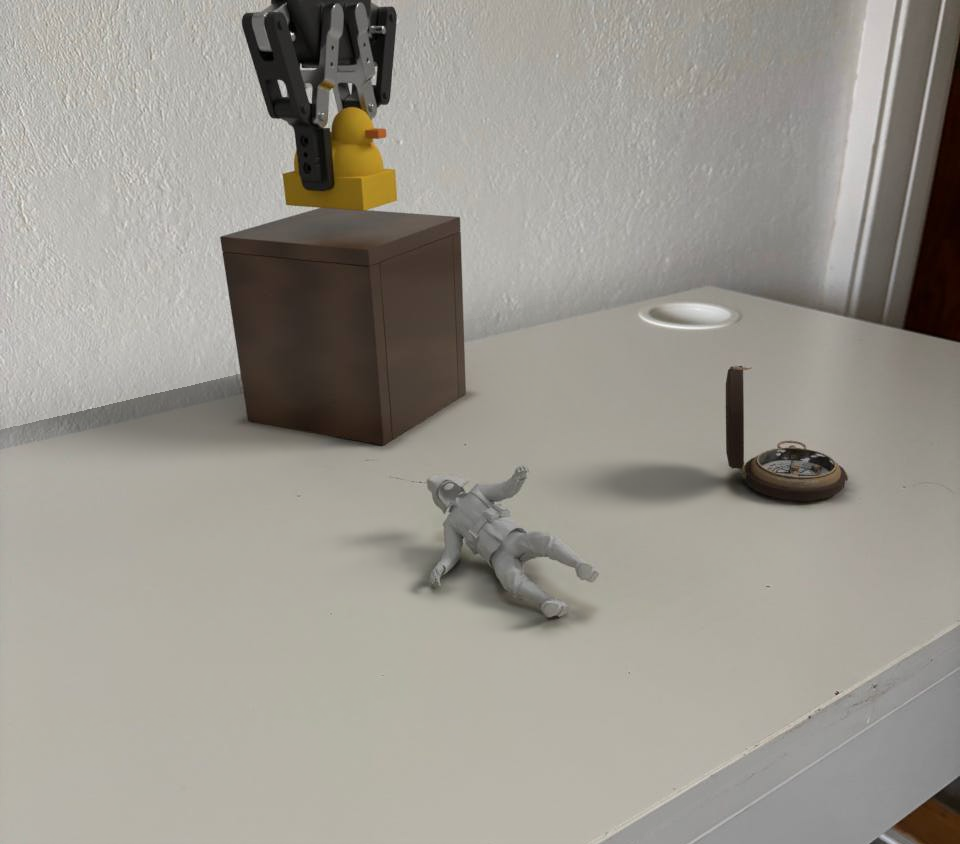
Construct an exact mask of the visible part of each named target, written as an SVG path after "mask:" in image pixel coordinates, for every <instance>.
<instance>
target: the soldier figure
mask: <svg viewBox="0 0 960 844" xmlns="http://www.w3.org/2000/svg"><path fill="white" fill-rule="evenodd" d="M527 473H531V469H530V468H529V466H526V465H520V466H518V467H516V468H515V470H514V474H512V476H511V477H509V478H508V479H507V480H504V481H501V482H491V483H476V484H475V485H474V486H473V487H472V488H471V489H469V491H468V492H467V491H466V490H465V488H464V487H466V485H467V484H468V483H469V479H467V478H465V477H464V478H463V477H460V476H458V475H454V474H445V475H441V474H439V473H436V474H435V473H434V474H432V475H431V476H429V477H427V479H426V488H427V490H428V491H429V492H430V493H431V497H432V501H433V503H434V505H435V506H436V507H437V508H439V509H440V510H441V512H442V514H443V515H445V514H447V511H448V514H447V516H446V518H445V520H444V521H443V523H442V526H443V543H444V549H443V555H442V556H441V559H440V560H439V561H438V562H437V563H436V564H435V566H434V567H433V569H432V570H431V572H430V575H429V577H430V578H429V582H430V583H431V585H434V582H435V583H436V584H437V585H438V586H441V577H442V576H445V575H446V574H447V573H448V572H449V571H451V570H453V568H454V567H455V566H456V565H457V563H458V561H459V559H460V558H461V553H462V548H463V545H464V543H465V545H466V546H467V548H468V549H469V550H470V551H471V552H472V553H473V555H476V554H478V555H479V556H480V557H482V558H483V559H484V561H485V562H486V563H487V565H488V566H489V567H490V568H492V569H493V570H494V573H495V576H496V578H497V579H498V580H499V582H500V584H501V586H502V588H503V589H504V590H505V591H507V592H509V593H511V594H512V596H513V597H514V599H515V598H516V599H517V598H523V599H526V600H529V601H532V602H534V603H536V604H539V605H540V609H541V611H542V614H544V616H545V617H547V618H552V617H559V618H562V617H564V616H565V615H566V614H567V613H568V611H569V608H570V607H569V606H568V605H567V604H566V603H565V602H563V601H561V599H559V598H557V597H556V596H553V595H551V594H549V593H547V592H546V591H544V590H543V589H541V588H540V587H539V585H537V584H536V583H535V582H533V581H532V580H530V579H529V577H528V576H527V575H526V574H525V571H524V570H525V565H526V562H528V561H531V560H534V559H535V560H536V559H537V558H548V559H550V560H552V561H556V562H558V563H560V564H562V565H565V566H566V567H570V568H573V569H574V571H575V574H576V577H577V578H578V579H580V580H581V581H587V582H589V583H594V582H595V581H596V580H597V579H598V578H599V577H600V573H599V572H598V571H597V570H596V569H595V567H593V566H592V564H590V563H589V562H586V561H585V560H584V559H582V557H581V556H579V555H578V554H577V553H575V551H573V550H572V549H571V548H570V547H569V546H568V545H566V544H565V543H564V542H563V541H562V540H560V539H559V538H558V537H557V536H556V534H554V533H549V532H547V531H541V530H533V531H532V530H531V531H526V530H525V528H524V527H522V526H521V525H518V524H517V523H516V522H514V521H513V520H512V519H511V518H510V517H511V511H510V510H509V509H507V508H506V507H505V506H503V505H502V504H501V502H502V501H504V500H507V499H512V498H513V497H515V496H517V494H518V493H519V492H520V491H521V489H522V487H523V485H524V483H525V482H526V480H527V479H528V474H527Z"/></svg>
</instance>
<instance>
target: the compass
mask: <svg viewBox="0 0 960 844" xmlns="http://www.w3.org/2000/svg"><path fill="white" fill-rule="evenodd" d="M752 368H753V367H752V366H750V367H744V366H743V365H734V366H730V367H729V368H728V370H727V373H726V379H725V450H726V452H725V453H726V458H727V463H728V467H730V469H732V470H733V469H735V470H737V469H738V470H740V473H742V477H743V479H744V482H745V483H746V484H747V485H748V487H750V488H751V489H753V490H754V491H756V492H758V493H760V494H762V495H765V496H768V497H770V498H771V497H772V498H775V499H778V500H779V499H780V500H786V501H797V502H806V501H807V502H808V501H809V502H810V501H819V500H823V499H828V498H831V497H833V496H835V495H837V494H838V493H840V492H841V491H842V490H843V489H844V488H845V486H846V485H845V484H846V482H848V480H849V475H848V474H847V472H846V470H845V469H844V468H843V467H842V466H841V465H839V463H838V462H836V461H835V460H834V458H832V457H831V456H829V455H827V454H825V453H823V452H820V451H818V450H814V449H809V448H807V446H806V444H805V443H803V442H801V441H797V440H782V441H780V442H778V443H777V446H776V447H777V448H772V449H768V450H765V451H763V452H761V453H759V454H758V455H756V456H754V457H752V458H751V459H749V460H748V461H747V462H746V463H745V421H744V420H745V414H744V412H745V410H744V409H745V403H744V401H745V399H744V397H745V396H744V371H748V370H751V369H752ZM784 444H791V445H789V446H788V447H781V445H784ZM794 444H797V445H800V446H802V447H803V448H801V447H796V445H794Z"/></svg>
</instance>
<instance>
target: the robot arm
mask: <svg viewBox="0 0 960 844" xmlns="http://www.w3.org/2000/svg"><path fill="white" fill-rule="evenodd" d="M397 20H398V15H397V11H396V9H395V7H394V6H393V5H392V6H391V5H390V6H378V5H377V4H375V3H373V2H372V0H270V5H269V6H267V7H266V8H264V9H262V11H255V12H245V13H244V14H243V15H242V17H241V27H242V31H243V34H244V37H245V40H246V44H247V48H248V51H249V54H250V57H251V60H252V63H253V67H254V70H255V71H254V72H255V74H256V77H257V80H258V83H259V87H260V90H261V93H262V96H263V100H264V103H265V107H266V109H267V113H268V115H269V117H270V118H271V119H273V120H282V121H284V122H287V124H288V125H289V126H290V127H292V129H293V132H294V141H295V149H296V150H297V156H298V158H297V159H298V164H299V165H298V168H299V175H300V178H301V181H302V185H303V187H304V188H305V189H306V190H312V191H327V190H331V189H332V188H333V187H334V184H335V182H334V171H333V157H332V146H331V135H330V132H331V128H330V127H326V126H327V125H328V121H329V108H330V107H329V106H330V91H331V90H332V92H333V96H334V100H335V104H336V109H337V113H338V112H340V111H341V110H343V109H345V108H348V107H355V108H359V109H361V110H363V111H364V112H365V113H367V115H368V116H369V117H370V119H371V120H372V121H373V119H374V118H376V115H377V112H378V111H377V110H378V108H379V107H380V106H387V105H388V104H389V103H390V101H391V93H392V83H393V81H392V80H393V70H394V69H393V68H394V60H395V59H394V57H395V47H396V46H395V45H396V33H397V32H396V31H397ZM375 75H376V77H375V78H376V79H375V84H373V83H372V79H373V77H374V76H375ZM279 81H282V82H283V83H284V85H285V88H286V96H283V94H282V91H281V88H280V84H279ZM349 84H351V91H350V87H349ZM308 88H311V102H310V101H309V97H308V93H307V89H308ZM372 142H373V143H374V140H373V141H372ZM296 150H295V151H296Z"/></svg>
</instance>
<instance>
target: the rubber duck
mask: <svg viewBox="0 0 960 844" xmlns="http://www.w3.org/2000/svg"><path fill="white" fill-rule="evenodd" d="M330 135H331V146H332V157H333V171H334V182H335V184H334V187H333V188H332V189H331V190H327V191H312V190H306V189H305V188H304V187H303V185H302V181H301V178H300V175H299V168H298V165H299V164H298V159H297V158H298V156H297V150H295V153H294V159H293V169H294V170H292V171H288V172H284V173H282V181H283V190H284V197H285V205H286V206H293V207H307V208H317V209H318V208H331V209H345V210H358V211H365V210H372V209H374V208H378V207H381V206H384V205H387V204H391V203H394V202H396V201H398V192H397V175H396V169H395V168H384V160H383V157H382V155H381V152H380V150H379V148H378V147H377V145H376V144H375V143H374V140H380V139H384V138H387V128H377V127H375V126H374V123H373V119H372V120H371V119H370V117H369V116H368V115H367V113H365V112H364V111H363V110H361V109H359V108H355V107H348V108H345V109H343V110H341V111H340V112H338V111H337V113H336V114H335V116H334V118H333V119H332V123H331V128H330ZM372 141H373V142H372Z"/></svg>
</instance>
